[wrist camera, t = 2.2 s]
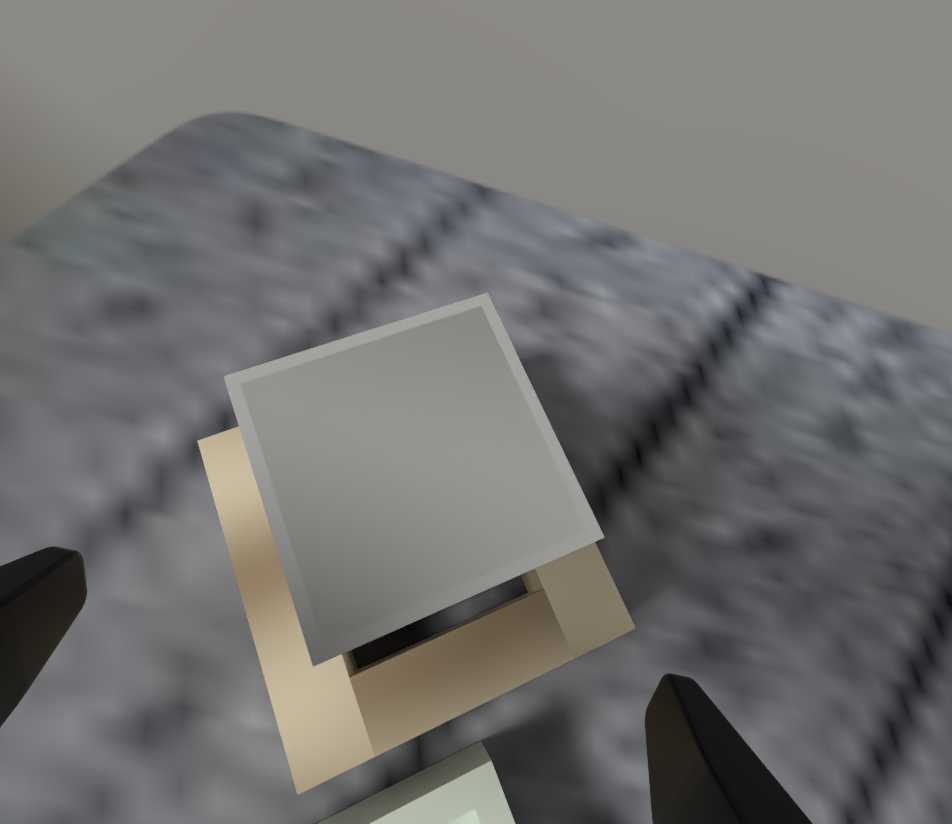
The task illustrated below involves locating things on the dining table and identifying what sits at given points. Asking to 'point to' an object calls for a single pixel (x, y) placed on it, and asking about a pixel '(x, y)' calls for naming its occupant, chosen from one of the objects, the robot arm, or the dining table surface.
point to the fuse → (405, 472)
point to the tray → (438, 795)
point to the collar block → (409, 670)
